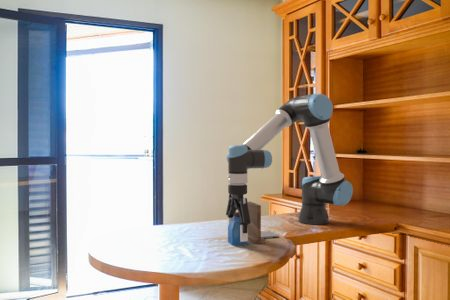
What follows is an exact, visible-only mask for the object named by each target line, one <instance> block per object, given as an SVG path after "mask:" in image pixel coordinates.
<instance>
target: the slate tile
mask: <svg viewBox="0 0 450 300" xmlns="http://www.w3.org/2000/svg"><path fill="white" fill-rule="evenodd" d="M261 237H262V238H266V239H274V238H273V237H278V238H280V235H279V234H277V233H275V232H272V231H271V230H265V231H261Z"/></svg>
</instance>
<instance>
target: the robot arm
mask: <svg viewBox="0 0 450 300" xmlns="http://www.w3.org/2000/svg"><path fill="white" fill-rule="evenodd" d="M333 107H334V106H333V103H332V101H331V99H330V98H329V97H328V96H327V95H325V94H322V93H312V94H307V95H299V96H295V97H292V98H290V99H289V100H288V101H286V102H285V103H284V104H283V105H281V106H280V107H279V108H278V109H276V111H275V112H274V115H273V116H272V117H271V118H270V119H269V120H268V121H266V122H265V123H264V124H263V125H262V126H261V127H260V128H258V129H257V131H255V132H254V133H253V134H252V135H251V136H249V137H248V139H247V140H245V141H244V142H243V143H242V144H241V145H240V144H239V145H237V144H236V145H235V144H234V145H233V144H232V145H230V146H229V147H228V152H227V153H226V161H227V163H228V166H227V167H228V169H227V170H228V175H227V176H226V177H227V179H228V181H227V182H228V185H227V186H228V194H229V195H228V200H227V207H226V212H225V216H227V222H228V223H227V227H228V226H229V224H230V222H231V221H234V219H233V216H234V213H235V212H239V216H240V220H241V223H240V241H241V242H245V241H247V242H249V241H248V224H250V223H251V222H250V216H249V210H248V205H247V202H248V198H247V197H244V196H245V195H247V193H248V185H247V183H248V170H249V169H267V168H269V167H270V166H271V165H272V164H273V154H272V153H271V152H270V151H269V149H264V148H265V147H266V146H267V145H268V144H270V142H271V141H272V140H273V139H274V138H275V137H277V136H278V135H279V134H280V133H281V132H282V131H283V130H284V129H286V127H287V128H288V127H290V126H292V124H295V123H297V122H303V124H304V127H305V128H306V129H308V131H309V133H310V137H311V142H312V145H313V148H314V152H315V156H316V157H315V158H316V160H317V163H318V168H319V172H320V175H319V176H318V175H317V176H305V177H303V178H302V181H301V208H300V211H299V215H298V218H297V220H298V222H299V223H301V224H306V225H327V224H329V223H330V218H329V214H328V211H327V207H326V204H329V205H335V206H345V205H347V204H348V203H349V202H350V201H351V199H352V197H353V192H354V188H353V185H352V183H351V182H350V181H348V180H346V177H345V174H344V173H342V172H341V171H340V167H339V163H338V159H337V156H336V151H335V149H334V148H335V147H334V144H333V140H332V136H331V132H330V128H329V123H330V122H331V117H332V115H333V111H334V108H333Z"/></svg>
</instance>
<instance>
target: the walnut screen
mask: <svg viewBox="0 0 450 300" xmlns="http://www.w3.org/2000/svg"><path fill="white" fill-rule="evenodd" d="M247 205H248V210H249V216H250V222H251V223H250V224H248V241H247V242H250V243H252V244H254V245H260V244H259V243H261V244H266V239H267V238H266V239H264V238H262V237H261V232H262V224H261V223H262V205H261V204H258V203H255V202H252V201H247Z"/></svg>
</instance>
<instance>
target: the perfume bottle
mask: <svg viewBox="0 0 450 300" xmlns="http://www.w3.org/2000/svg"><path fill="white" fill-rule="evenodd" d="M233 219H234V221H231V222H230V224H229V226H228V225H227V242H228V243H229V244H230V245H231V246H233V247H234V246H245V245H248V241H245V242H241V241H240V223H241V220H240V216H239V212H238V211H236V212H235V213H234V216H233Z"/></svg>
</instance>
